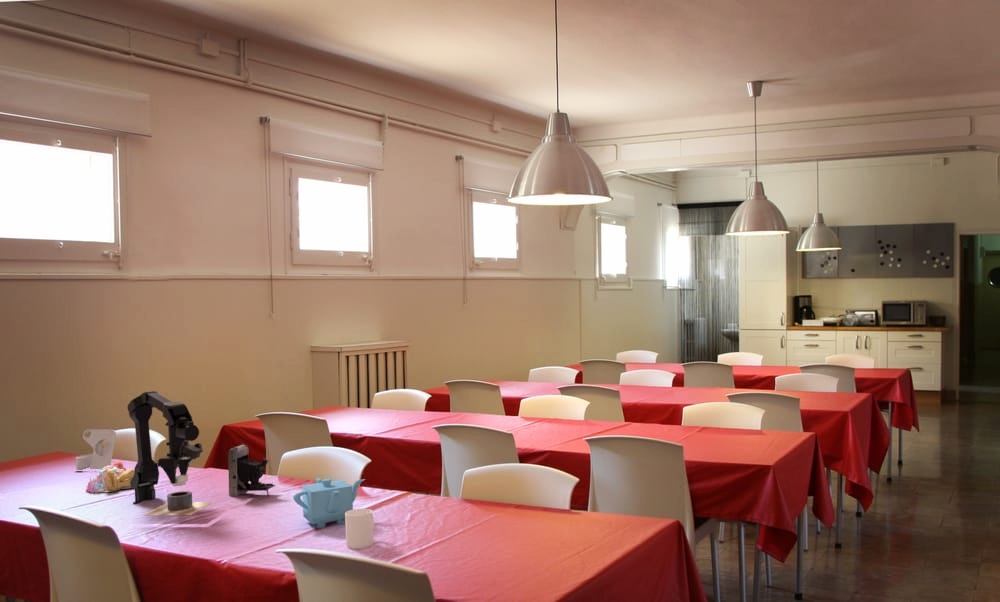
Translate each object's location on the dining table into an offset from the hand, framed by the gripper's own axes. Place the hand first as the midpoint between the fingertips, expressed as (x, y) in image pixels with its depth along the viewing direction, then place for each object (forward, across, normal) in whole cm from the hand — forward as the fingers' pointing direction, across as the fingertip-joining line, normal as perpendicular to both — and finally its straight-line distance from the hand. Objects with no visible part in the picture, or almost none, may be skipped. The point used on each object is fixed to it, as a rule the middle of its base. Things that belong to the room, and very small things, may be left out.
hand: (178, 480), depth 308 cm
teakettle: (+11, -15, -62) cm, 65 cm away
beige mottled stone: (+1, 0, 0) cm, 1 cm away
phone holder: (+12, +73, +79) cm, 108 cm away
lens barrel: (+10, 0, 0) cm, 10 cm away
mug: (+11, -39, -80) cm, 90 cm away
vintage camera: (+11, +21, -19) cm, 31 cm away
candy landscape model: (+12, +39, +50) cm, 64 cm away
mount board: (+11, -1, 0) cm, 11 cm away
